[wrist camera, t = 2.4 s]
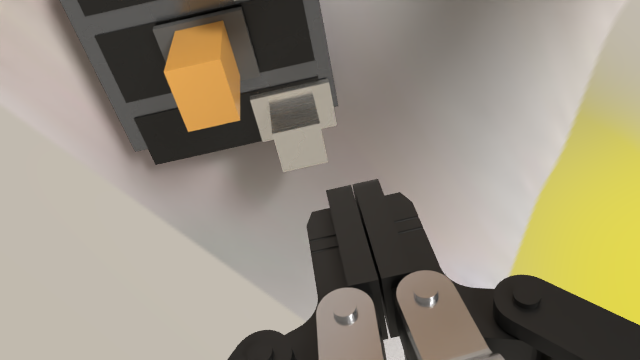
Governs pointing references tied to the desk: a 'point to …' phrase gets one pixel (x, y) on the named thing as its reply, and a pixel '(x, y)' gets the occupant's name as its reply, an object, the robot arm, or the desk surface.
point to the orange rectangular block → (207, 65)
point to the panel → (255, 94)
